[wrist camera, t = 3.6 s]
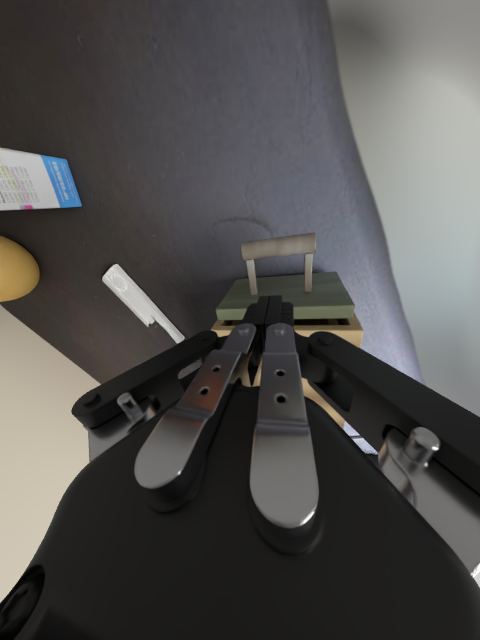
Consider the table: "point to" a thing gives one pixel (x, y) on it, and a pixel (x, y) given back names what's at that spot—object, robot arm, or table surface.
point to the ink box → (35, 182)
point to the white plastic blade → (138, 300)
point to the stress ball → (16, 270)
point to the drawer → (288, 285)
